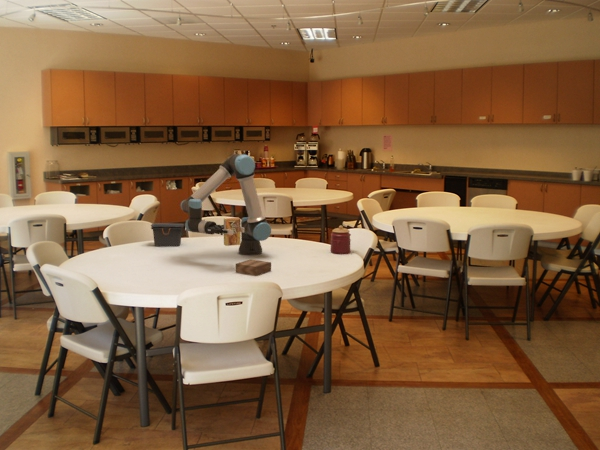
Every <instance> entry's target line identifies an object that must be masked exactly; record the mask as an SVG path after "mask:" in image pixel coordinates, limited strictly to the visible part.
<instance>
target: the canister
mask: <svg viewBox="0 0 600 450" xmlns="http://www.w3.org/2000/svg"><path fill="white" fill-rule="evenodd" d="M330 236H331V237H330V253H332V254H334V255H347V254H350V253H351V241H352V239H351V236H352V234H351V233H350V230H349V229H348V228H345V227H344V226H343V225H339V226H338V227H337V228H336V227H335V228H334V229H332V231H331V233H330Z"/></svg>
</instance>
